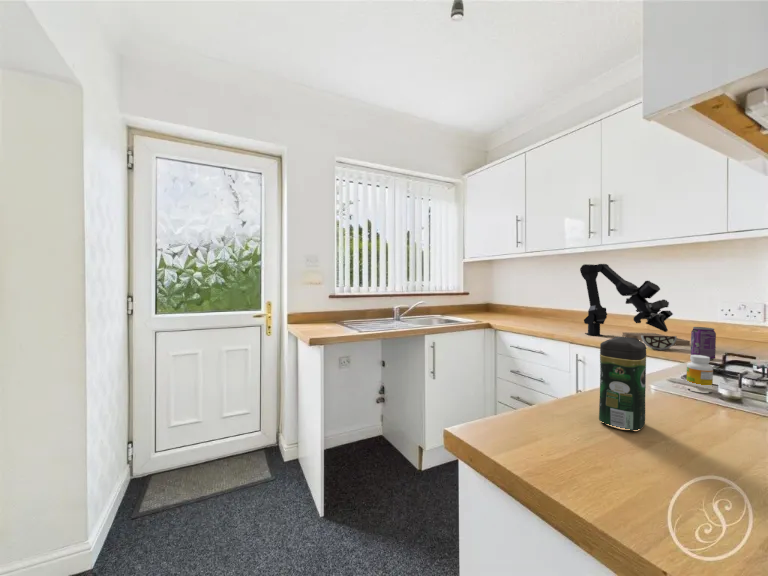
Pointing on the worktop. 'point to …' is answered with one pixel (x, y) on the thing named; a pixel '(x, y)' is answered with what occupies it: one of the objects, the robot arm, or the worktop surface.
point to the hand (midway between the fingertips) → (666, 331)
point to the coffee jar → (622, 382)
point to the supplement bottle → (700, 370)
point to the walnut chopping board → (638, 335)
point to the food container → (659, 341)
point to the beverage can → (703, 342)
